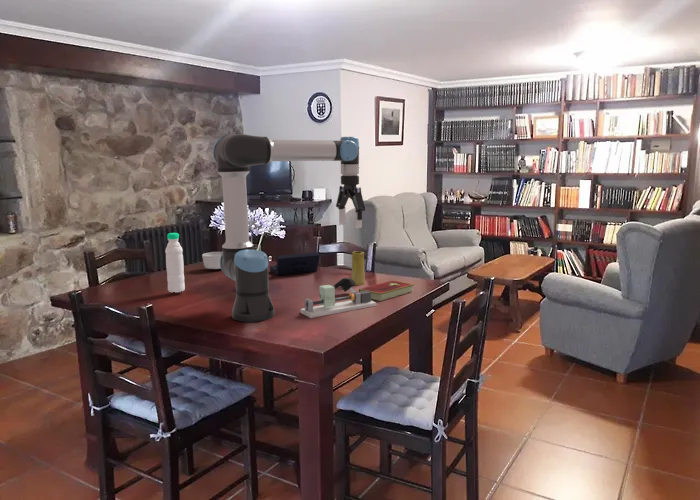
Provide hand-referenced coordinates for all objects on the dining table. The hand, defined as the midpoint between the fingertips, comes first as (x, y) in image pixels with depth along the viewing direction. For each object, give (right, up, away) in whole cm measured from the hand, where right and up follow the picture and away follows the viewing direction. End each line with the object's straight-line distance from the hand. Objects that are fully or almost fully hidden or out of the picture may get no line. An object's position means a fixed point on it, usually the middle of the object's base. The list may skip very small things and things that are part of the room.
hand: (350, 226), depth 229 cm
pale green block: (-8, -30, -27) cm, 41 cm away
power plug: (-8, -30, 0) cm, 31 cm away
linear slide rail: (-4, -32, -24) cm, 41 cm away
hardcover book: (+15, -29, -3) cm, 33 cm away
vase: (+4, -25, +17) cm, 31 cm away
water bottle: (-75, -28, +7) cm, 80 cm away
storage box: (-28, -21, +44) cm, 56 cm away
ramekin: (-70, -19, +57) cm, 92 cm away
